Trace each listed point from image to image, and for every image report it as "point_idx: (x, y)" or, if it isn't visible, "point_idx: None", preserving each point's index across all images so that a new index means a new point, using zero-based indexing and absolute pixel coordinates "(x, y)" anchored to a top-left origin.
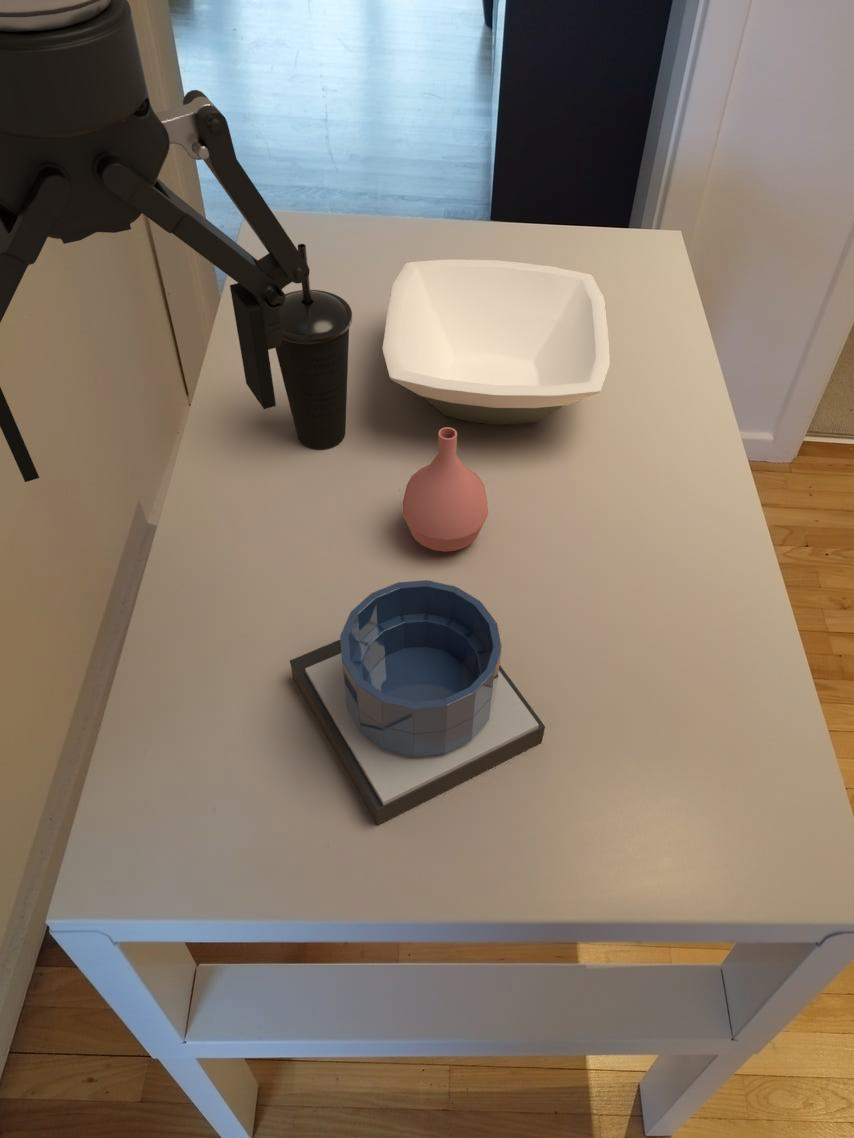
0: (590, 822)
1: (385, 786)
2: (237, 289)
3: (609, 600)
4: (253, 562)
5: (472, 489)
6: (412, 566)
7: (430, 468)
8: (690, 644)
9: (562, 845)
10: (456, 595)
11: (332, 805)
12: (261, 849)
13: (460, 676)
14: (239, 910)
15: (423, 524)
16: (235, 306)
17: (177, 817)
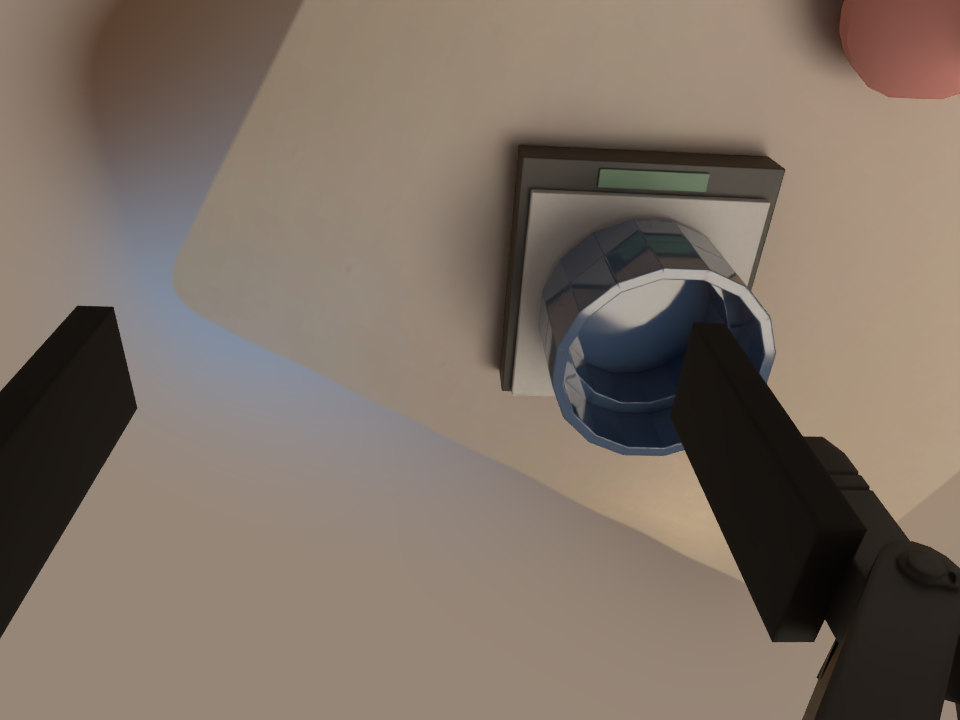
0: (679, 461)
1: (524, 382)
2: (822, 556)
3: (950, 257)
4: None
5: None
6: (797, 42)
7: None
8: (953, 358)
9: (639, 465)
10: (758, 327)
11: (469, 328)
12: (378, 335)
13: (690, 316)
14: (333, 378)
15: (863, 53)
16: (785, 498)
17: (305, 256)
